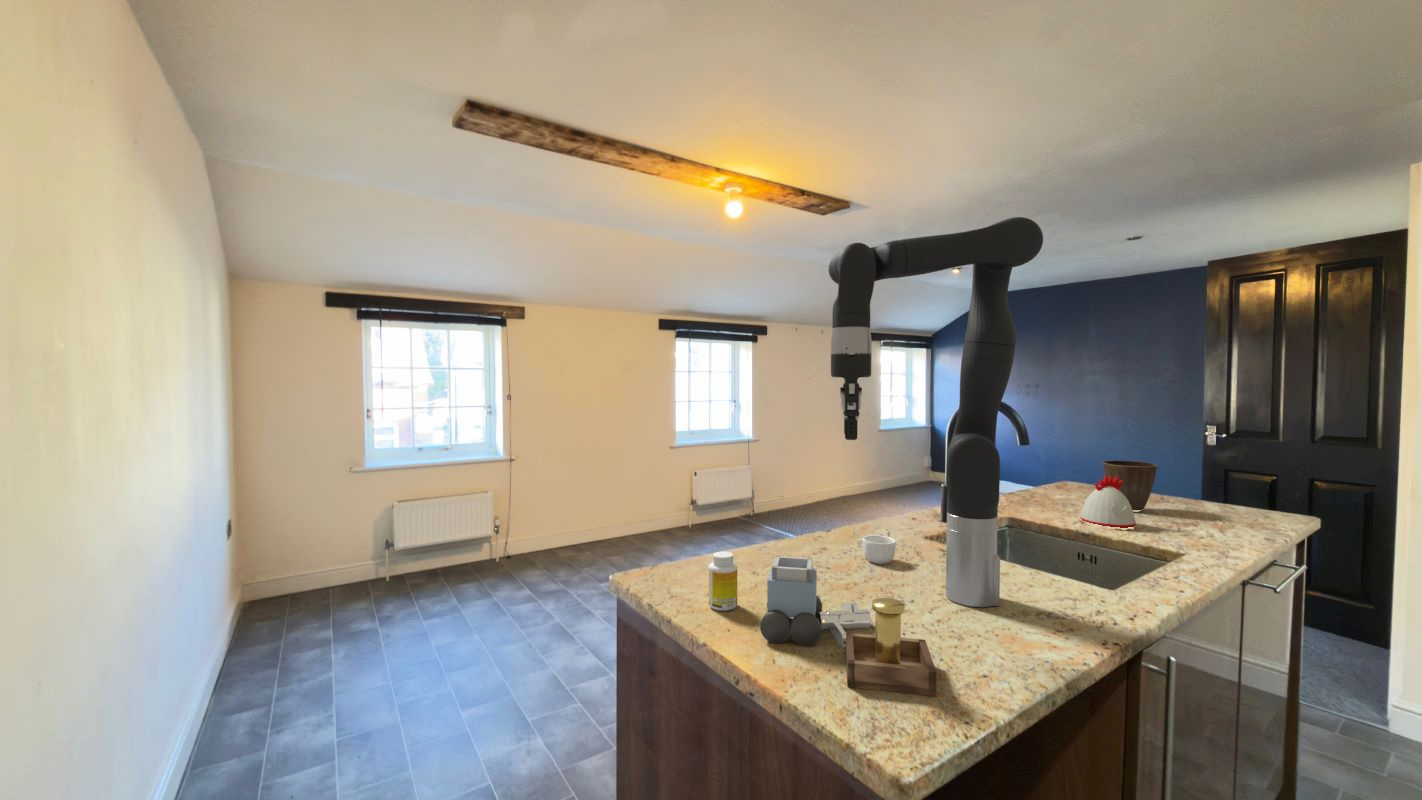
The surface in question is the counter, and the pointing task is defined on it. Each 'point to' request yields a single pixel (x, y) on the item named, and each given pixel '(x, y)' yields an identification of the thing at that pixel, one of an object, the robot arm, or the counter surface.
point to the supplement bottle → (723, 582)
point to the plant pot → (1133, 480)
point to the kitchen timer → (1108, 506)
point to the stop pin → (888, 630)
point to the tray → (890, 667)
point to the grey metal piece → (844, 621)
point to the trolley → (792, 602)
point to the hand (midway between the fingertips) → (850, 437)
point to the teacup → (878, 548)
